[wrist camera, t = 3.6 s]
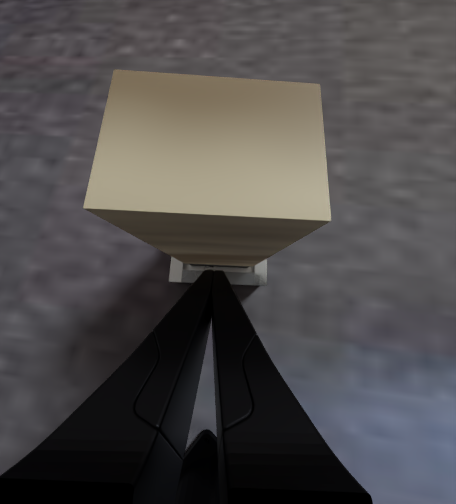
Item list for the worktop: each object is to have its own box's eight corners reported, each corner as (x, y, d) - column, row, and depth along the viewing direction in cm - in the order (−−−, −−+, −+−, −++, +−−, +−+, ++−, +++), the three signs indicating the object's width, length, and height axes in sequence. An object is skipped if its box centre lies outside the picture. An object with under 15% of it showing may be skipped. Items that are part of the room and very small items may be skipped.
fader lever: (250, 267, 15) (331, 221, 4) (187, 265, 15) (83, 208, 4) (251, 225, 16) (319, 84, 5) (191, 222, 15) (114, 69, 4)
